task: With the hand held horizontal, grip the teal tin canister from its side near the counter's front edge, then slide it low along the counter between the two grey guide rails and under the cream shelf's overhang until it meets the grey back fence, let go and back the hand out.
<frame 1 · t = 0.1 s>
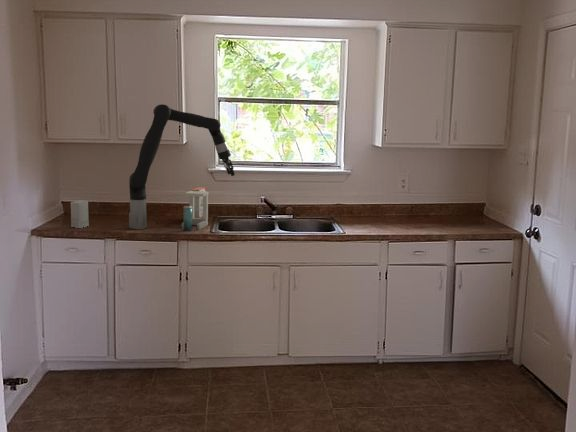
hand: (231, 174, 361), 31 cm above the worktop, tool tilted 20°, fingers open, 8 cm apart
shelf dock: (193, 226, 355), on the worktop
skincare box: (80, 227, 343), on the worktop
cracker box: (198, 220, 377), on the worktop
canister: (187, 230, 345), on the worktop
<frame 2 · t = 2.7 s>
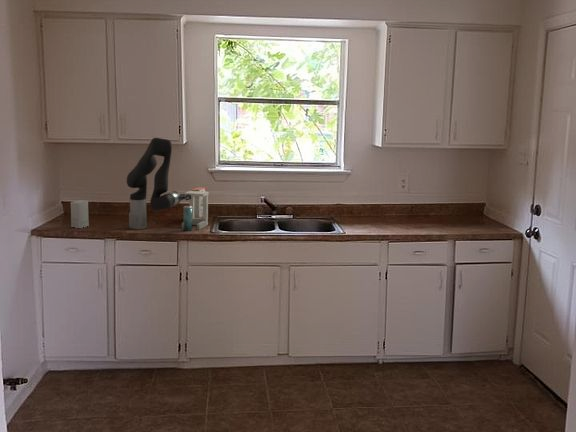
hand: (181, 195, 331), 22 cm above the worktop, tool horizontal, fingers open, 8 cm apart
nothing on the worktop moved.
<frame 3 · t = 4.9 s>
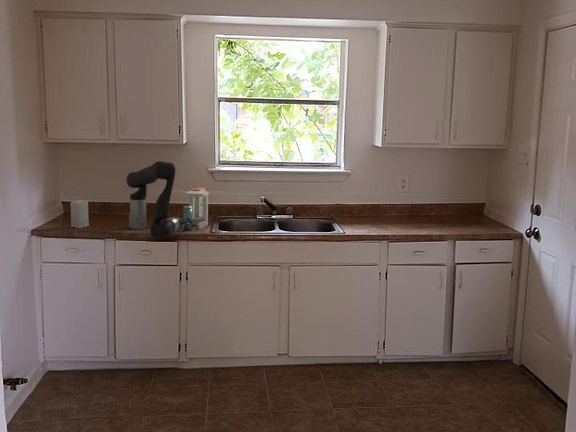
hand: (182, 219, 336), 8 cm above the worktop, tool horizontal, fingers open, 8 cm apart
nothing on the worktop moved.
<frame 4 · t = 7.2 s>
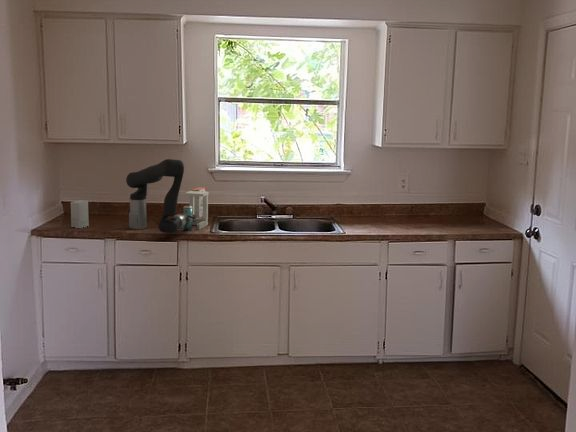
hand: (189, 216, 346), 8 cm above the worktop, tool horizontal, fingers closed on canister, 5 cm apart
canister: (187, 230, 345), on the worktop, touching gripper
everything else where it was.
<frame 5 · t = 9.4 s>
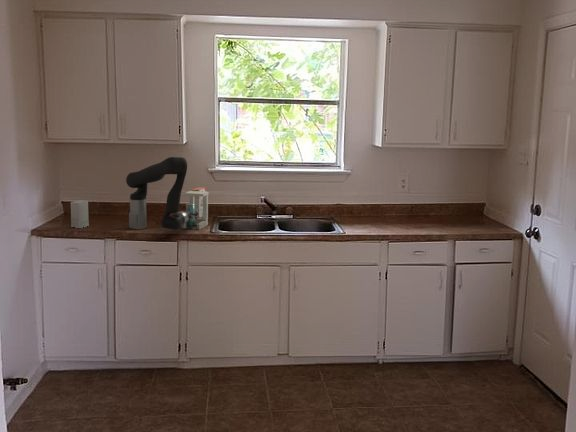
hand: (191, 213, 350), 9 cm above the worktop, tool horizontal, fingers closed on canister, 5 cm apart
canister: (190, 227, 349), point 1 cm above the worktop, touching gripper
everything else where it was.
when the fingers open (9 cm above the worktop, at t = 11.7 s): canister moves 1 cm, resting in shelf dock.
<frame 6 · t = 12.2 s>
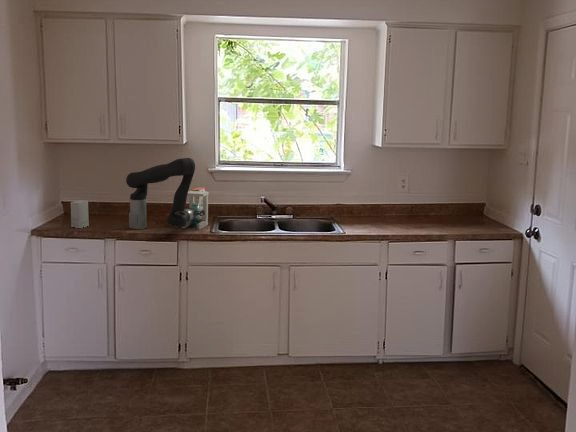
hand: (196, 210, 358), 9 cm above the worktop, tool horizontal, fingers open, 8 cm apart
canister: (195, 226, 358), resting in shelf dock
everything else where it was.
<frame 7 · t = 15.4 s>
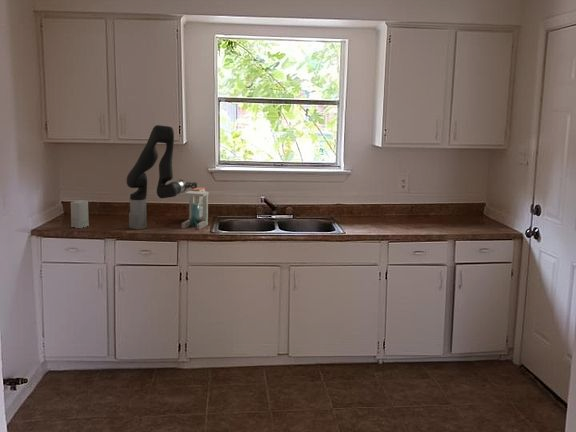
hand: (187, 183, 340), 28 cm above the worktop, tool horizontal, fingers open, 8 cm apart
nothing on the worktop moved.
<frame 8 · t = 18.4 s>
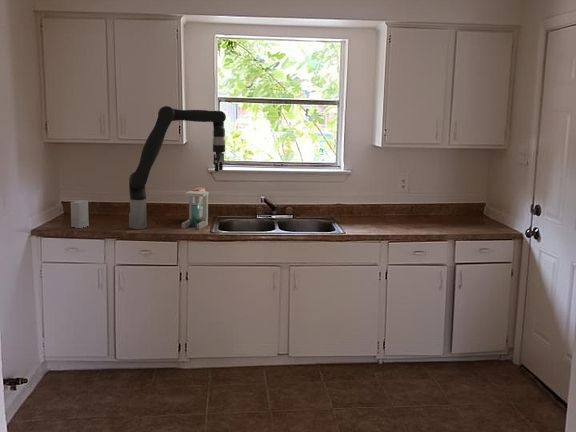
hand: (218, 170, 357), 34 cm above the worktop, tool pointing down, fingers open, 8 cm apart
nothing on the worktop moved.
at the end: canister inside the target area (0.2 cm from its centre), resting in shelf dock; canister tilted 0°; the gripper is holding nothing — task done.
